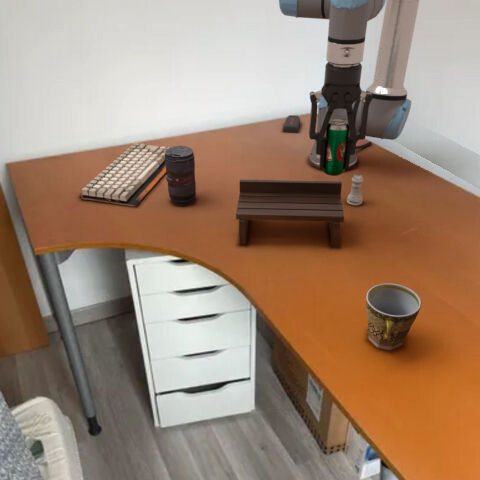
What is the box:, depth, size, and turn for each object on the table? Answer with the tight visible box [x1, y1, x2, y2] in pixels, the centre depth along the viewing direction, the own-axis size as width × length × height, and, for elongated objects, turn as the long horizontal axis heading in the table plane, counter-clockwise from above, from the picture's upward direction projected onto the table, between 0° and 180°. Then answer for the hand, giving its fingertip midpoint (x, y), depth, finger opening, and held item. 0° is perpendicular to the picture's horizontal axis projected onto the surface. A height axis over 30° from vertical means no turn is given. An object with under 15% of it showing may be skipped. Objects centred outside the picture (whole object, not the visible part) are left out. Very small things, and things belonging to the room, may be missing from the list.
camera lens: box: [165, 145, 197, 207], centre depth 146 cm, size 8×8×15 cm
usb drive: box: [282, 114, 301, 133], centre depth 195 cm, size 5×12×3 cm, turn 169°
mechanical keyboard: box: [79, 142, 171, 208], centre depth 164 cm, size 38×19×3 cm, turn 164°
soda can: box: [322, 119, 349, 177], centre depth 120 cm, size 5×5×12 cm
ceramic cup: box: [365, 283, 422, 351], centre depth 100 cm, size 13×10×10 cm
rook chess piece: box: [346, 174, 364, 207], centre depth 146 cm, size 4×4×8 cm
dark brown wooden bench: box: [235, 179, 345, 249], centre depth 133 cm, size 14×26×12 cm, turn 85°
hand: (333, 167), depth 123 cm, fingers closed on soda can, 5 cm apart
